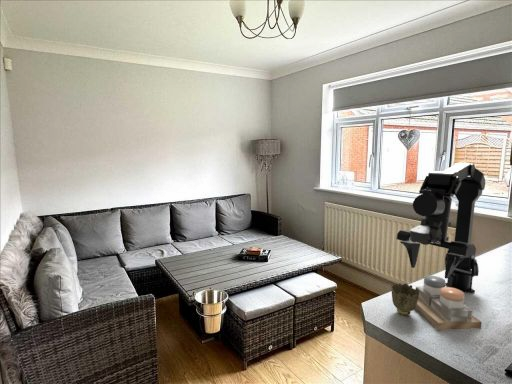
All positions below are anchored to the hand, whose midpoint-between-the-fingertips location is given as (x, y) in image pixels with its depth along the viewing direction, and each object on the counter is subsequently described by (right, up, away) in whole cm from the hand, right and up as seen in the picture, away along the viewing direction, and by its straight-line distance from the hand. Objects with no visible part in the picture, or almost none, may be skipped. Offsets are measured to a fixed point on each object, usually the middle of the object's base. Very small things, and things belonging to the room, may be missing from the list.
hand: (428, 272), depth 85 cm
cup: (-4, -14, +6) cm, 16 cm away
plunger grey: (+7, -9, +9) cm, 14 cm away
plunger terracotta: (+7, -10, +1) cm, 12 cm away
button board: (+7, -14, +6) cm, 16 cm away
